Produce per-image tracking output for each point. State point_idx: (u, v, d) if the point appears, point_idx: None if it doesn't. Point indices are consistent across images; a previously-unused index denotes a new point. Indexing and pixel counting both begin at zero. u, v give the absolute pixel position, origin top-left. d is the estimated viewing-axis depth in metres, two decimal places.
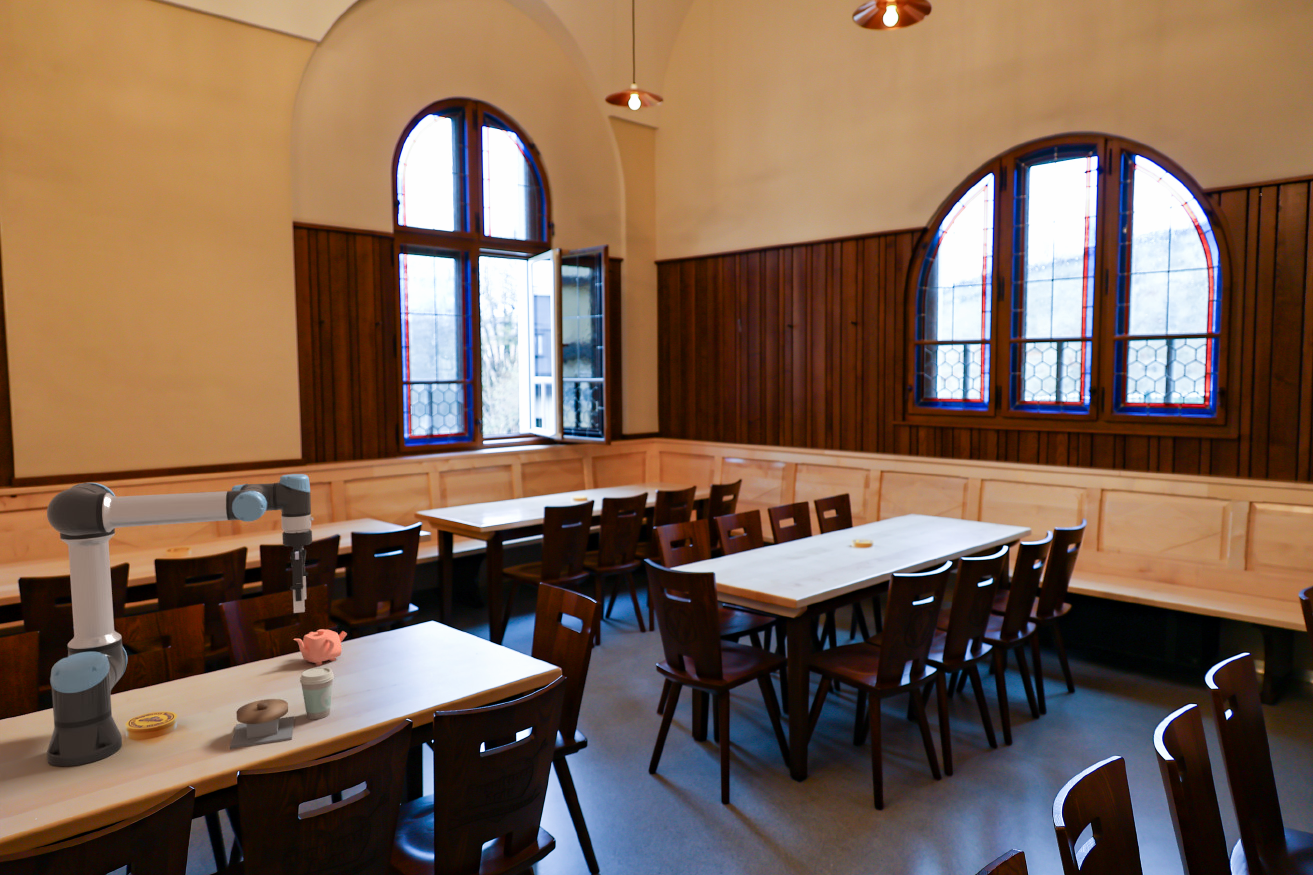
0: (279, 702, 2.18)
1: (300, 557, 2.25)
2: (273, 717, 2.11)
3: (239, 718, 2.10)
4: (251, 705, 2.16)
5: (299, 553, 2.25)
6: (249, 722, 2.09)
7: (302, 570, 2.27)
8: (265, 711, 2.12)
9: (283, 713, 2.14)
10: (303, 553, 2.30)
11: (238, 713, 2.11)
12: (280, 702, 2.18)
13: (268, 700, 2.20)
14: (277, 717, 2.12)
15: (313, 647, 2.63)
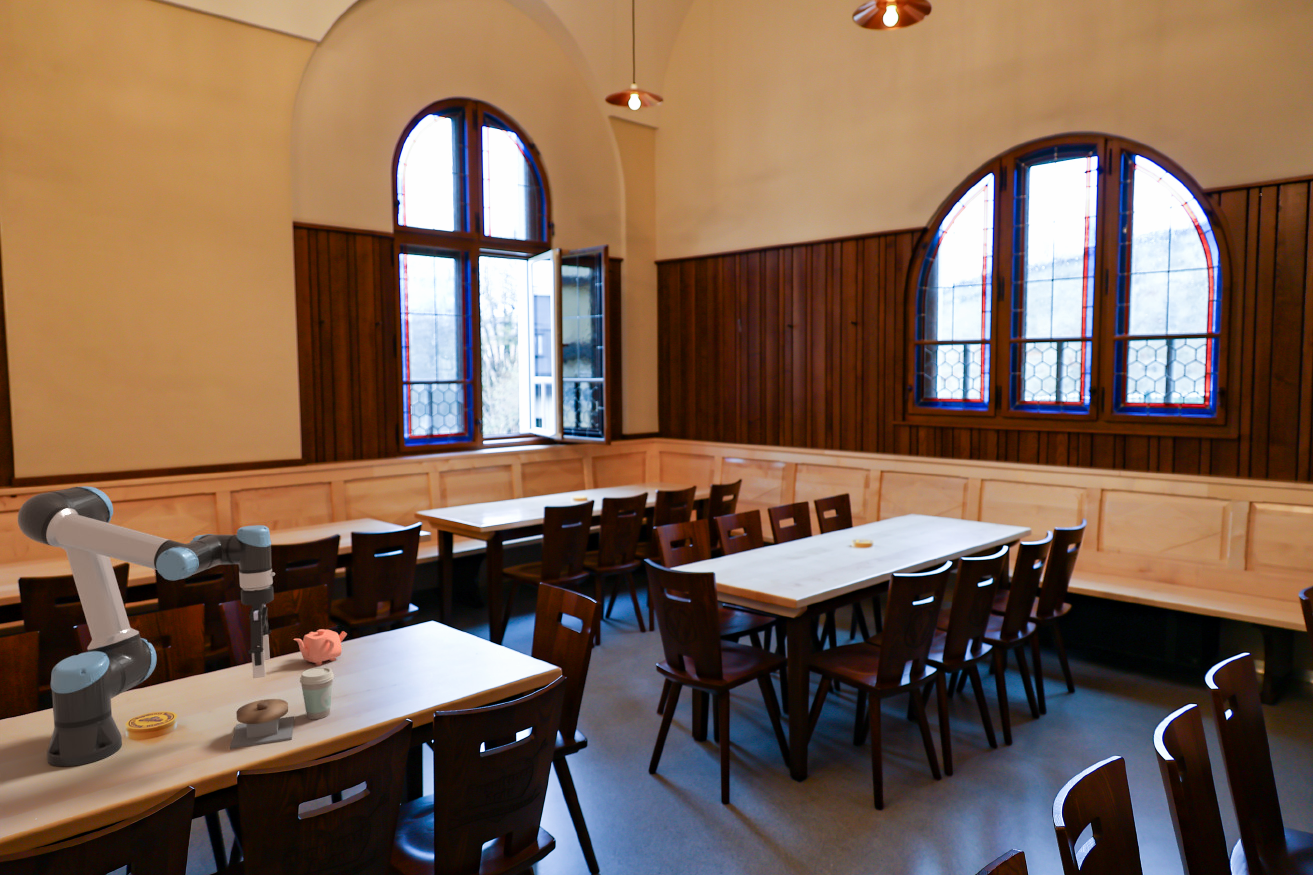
0: (279, 702, 2.18)
1: (259, 617, 2.06)
2: (273, 717, 2.11)
3: (239, 718, 2.10)
4: (251, 705, 2.16)
5: (258, 613, 2.07)
6: (249, 722, 2.09)
7: (262, 631, 2.08)
8: (265, 711, 2.12)
9: (283, 713, 2.14)
10: (263, 612, 2.11)
11: (238, 713, 2.11)
12: (280, 702, 2.18)
13: (268, 700, 2.20)
14: (277, 717, 2.12)
15: (313, 647, 2.63)
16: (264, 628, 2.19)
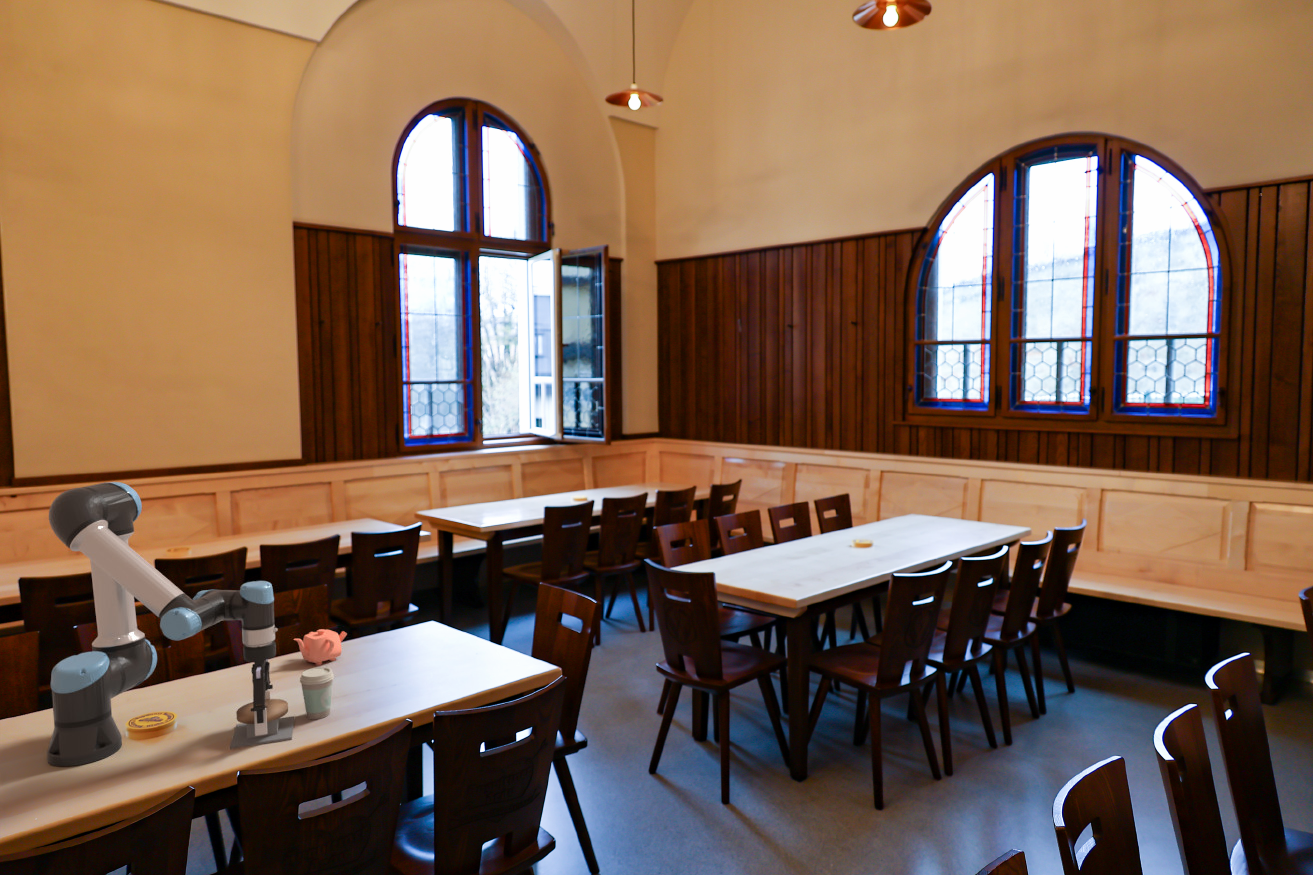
0: (279, 702, 2.18)
1: (262, 675, 2.08)
2: (273, 717, 2.11)
3: (239, 718, 2.10)
4: (251, 705, 2.16)
5: (261, 671, 2.08)
6: (249, 722, 2.09)
7: (264, 688, 2.10)
8: None
9: (283, 713, 2.14)
10: (266, 668, 2.13)
11: (238, 713, 2.11)
12: (280, 702, 2.18)
13: (268, 700, 2.20)
14: (277, 717, 2.12)
15: (313, 647, 2.63)
16: (266, 683, 2.19)
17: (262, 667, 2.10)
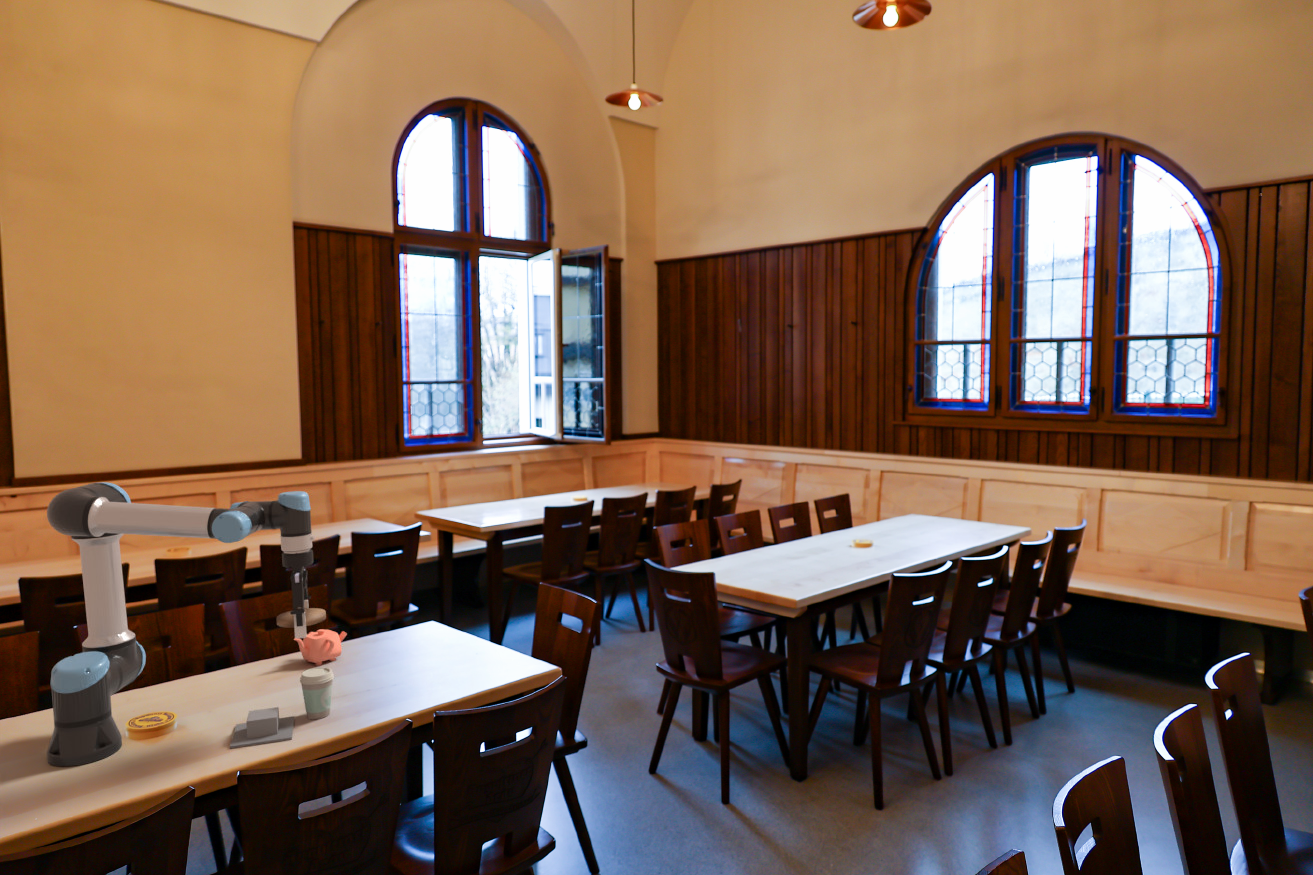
0: (317, 610, 2.24)
1: (300, 580, 2.14)
2: (312, 622, 2.17)
3: (279, 622, 2.16)
4: None
5: (299, 576, 2.14)
6: (289, 626, 2.15)
7: (303, 593, 2.16)
8: None
9: (321, 619, 2.20)
10: (304, 574, 2.19)
11: (278, 618, 2.18)
12: (318, 610, 2.24)
13: (306, 609, 2.26)
14: (316, 622, 2.18)
15: (313, 647, 2.63)
16: (304, 593, 2.26)
17: (300, 573, 2.16)
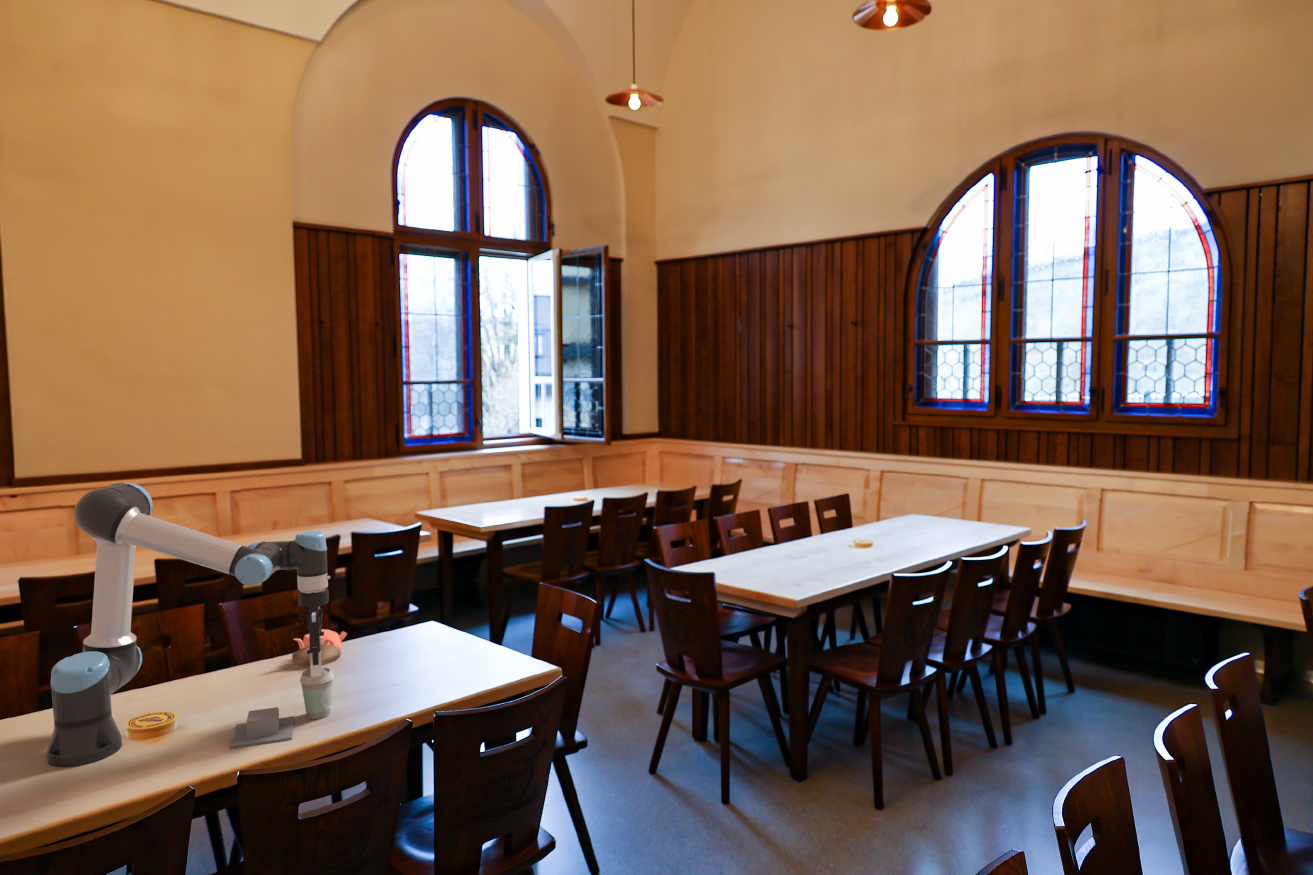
0: (331, 647, 2.29)
1: (317, 619, 2.18)
2: (327, 660, 2.21)
3: (295, 661, 2.20)
4: (305, 650, 2.27)
5: (316, 615, 2.18)
6: (305, 664, 2.19)
7: (319, 632, 2.20)
8: None
9: (336, 657, 2.24)
10: (320, 613, 2.23)
11: (294, 656, 2.22)
12: (332, 647, 2.28)
13: (320, 646, 2.30)
14: (331, 660, 2.22)
15: None
16: None
17: (317, 612, 2.21)
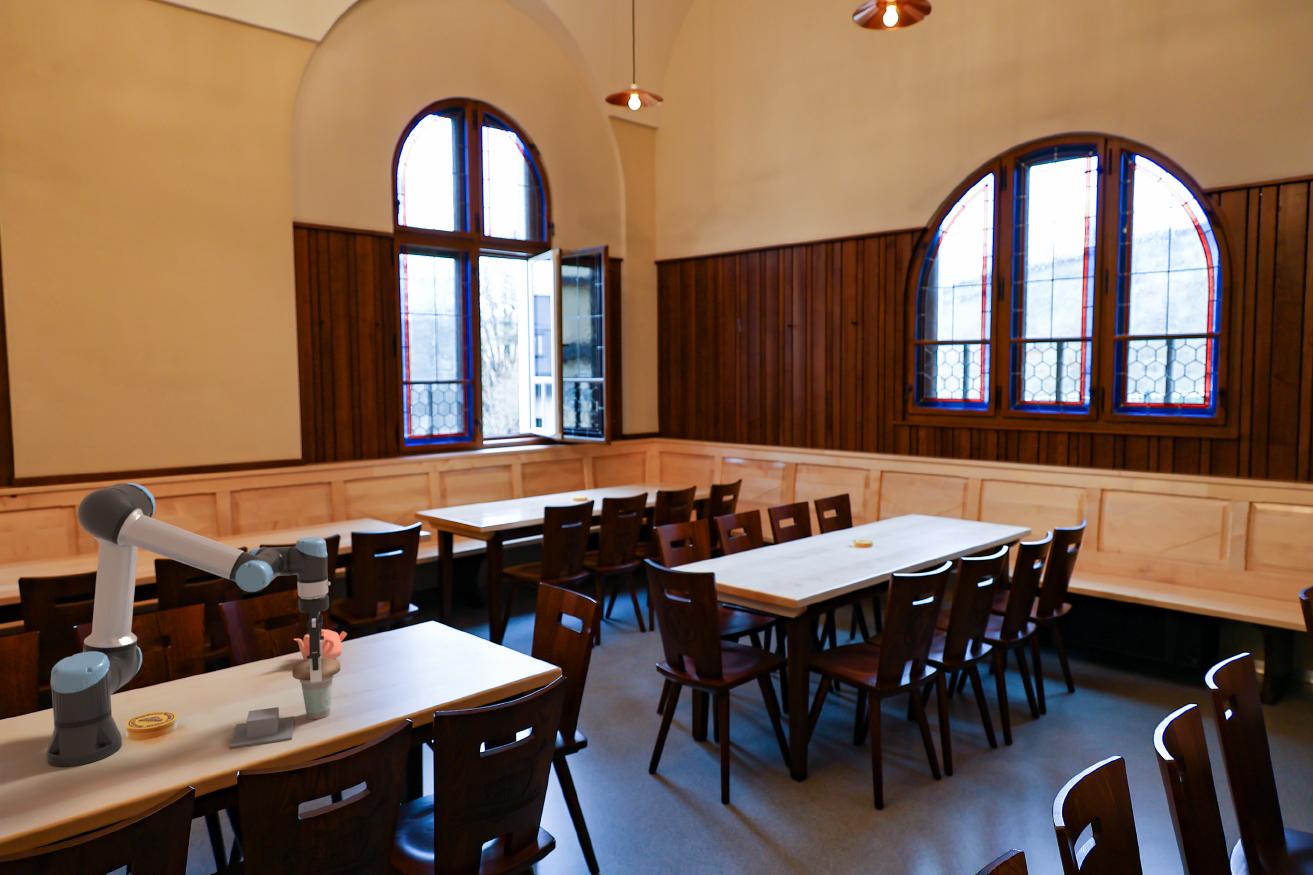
0: (331, 661, 2.29)
1: (317, 625, 2.18)
2: (327, 674, 2.21)
3: (295, 675, 2.20)
4: (305, 663, 2.27)
5: (316, 621, 2.18)
6: (305, 678, 2.19)
7: (319, 638, 2.20)
8: None
9: (336, 671, 2.24)
10: (320, 619, 2.23)
11: (294, 670, 2.22)
12: (332, 661, 2.29)
13: (321, 659, 2.30)
14: (331, 674, 2.22)
15: None
16: None
17: (317, 618, 2.21)
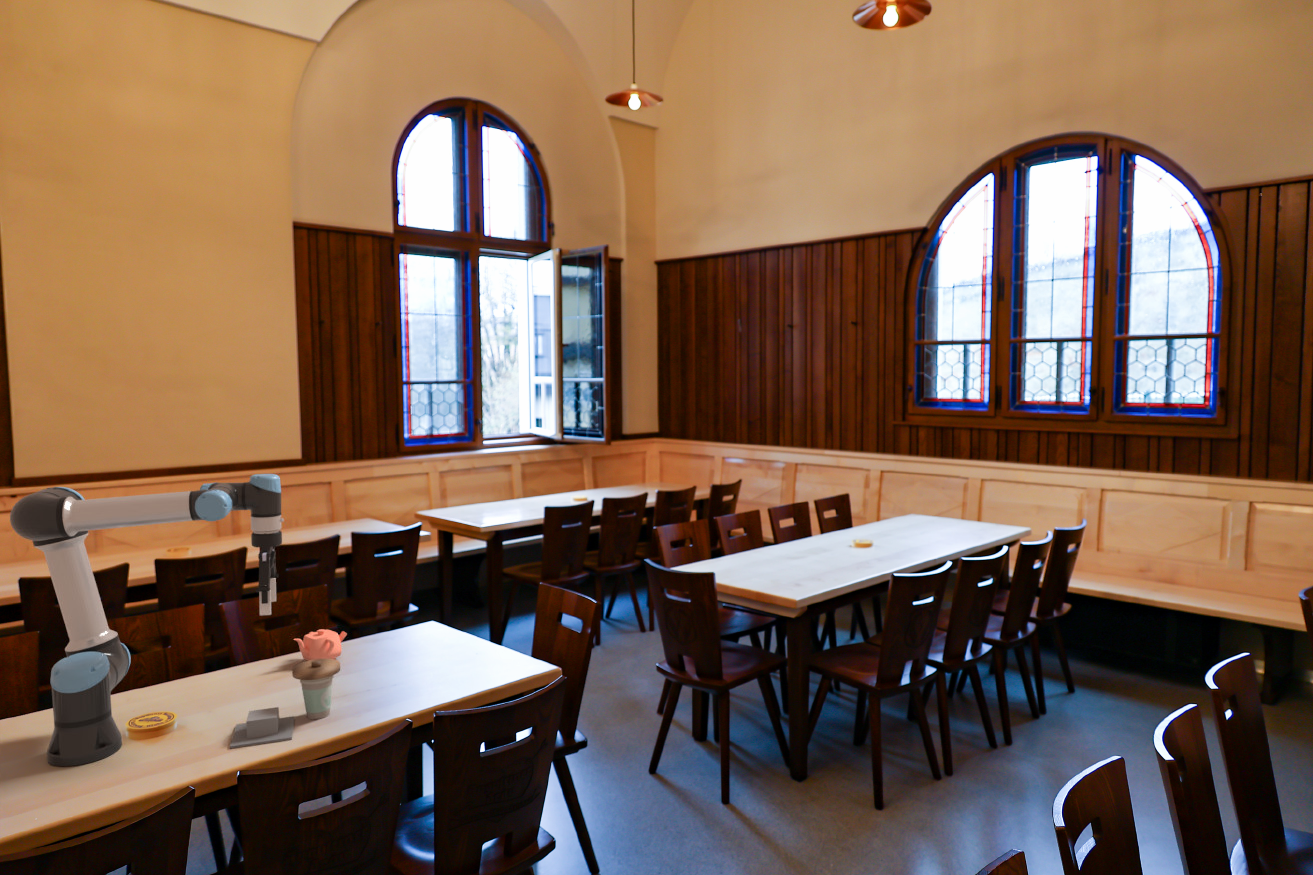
0: (331, 661, 2.29)
1: (267, 559, 2.20)
2: (327, 674, 2.21)
3: (295, 675, 2.20)
4: (305, 663, 2.27)
5: (267, 554, 2.20)
6: (305, 678, 2.19)
7: (270, 572, 2.22)
8: (319, 669, 2.23)
9: (336, 671, 2.24)
10: (272, 555, 2.25)
11: (294, 670, 2.22)
12: (332, 661, 2.29)
13: (321, 659, 2.30)
14: (331, 674, 2.22)
15: (313, 647, 2.63)
16: (272, 571, 2.33)
17: (268, 553, 2.23)
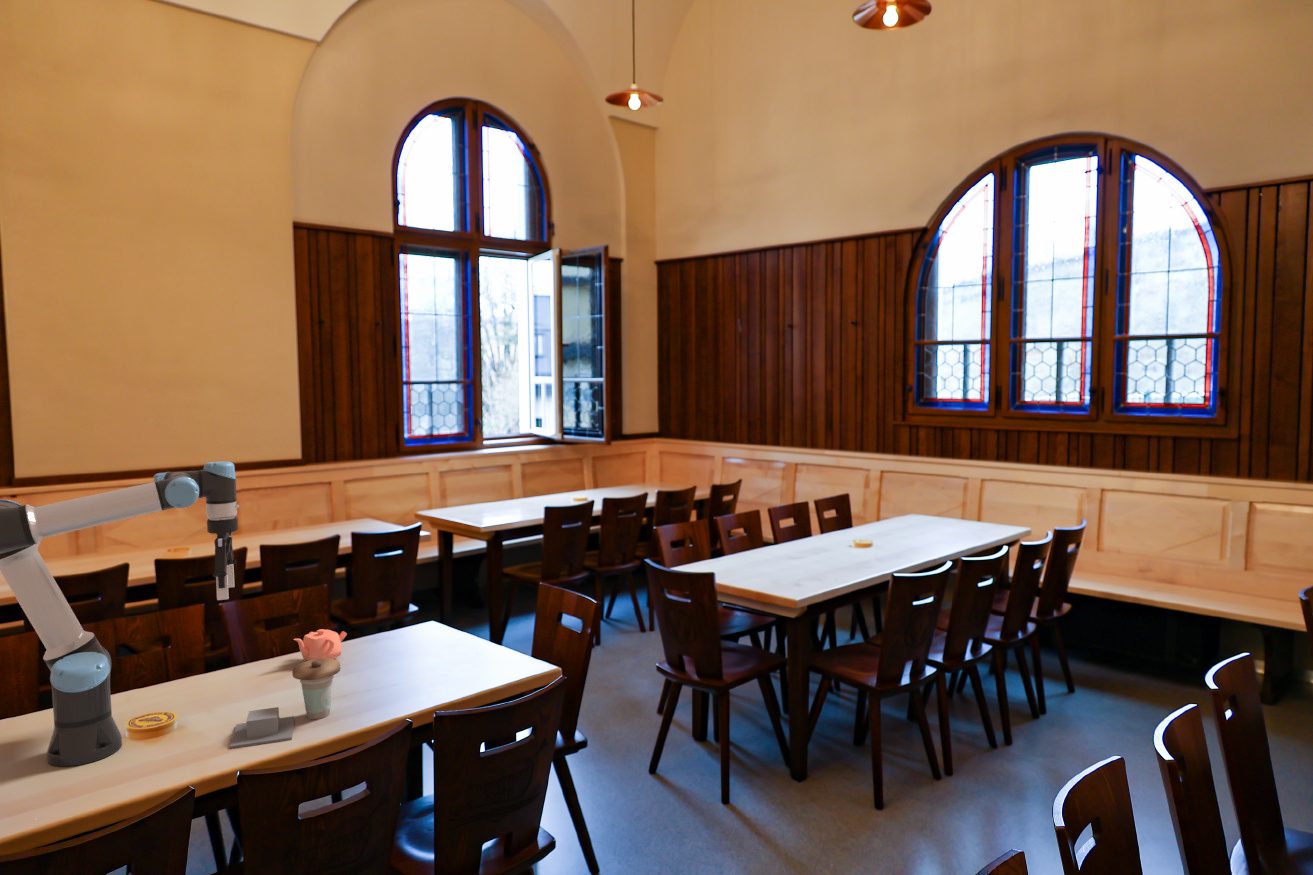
0: (331, 661, 2.29)
1: (223, 544, 2.24)
2: (327, 674, 2.21)
3: (295, 675, 2.20)
4: (305, 663, 2.27)
5: (222, 540, 2.24)
6: (305, 678, 2.19)
7: (226, 557, 2.26)
8: (319, 669, 2.23)
9: (336, 671, 2.24)
10: (228, 540, 2.29)
11: (294, 670, 2.22)
12: (332, 661, 2.29)
13: (321, 659, 2.30)
14: (331, 674, 2.22)
15: (313, 647, 2.63)
16: (229, 557, 2.36)
17: (224, 538, 2.27)
